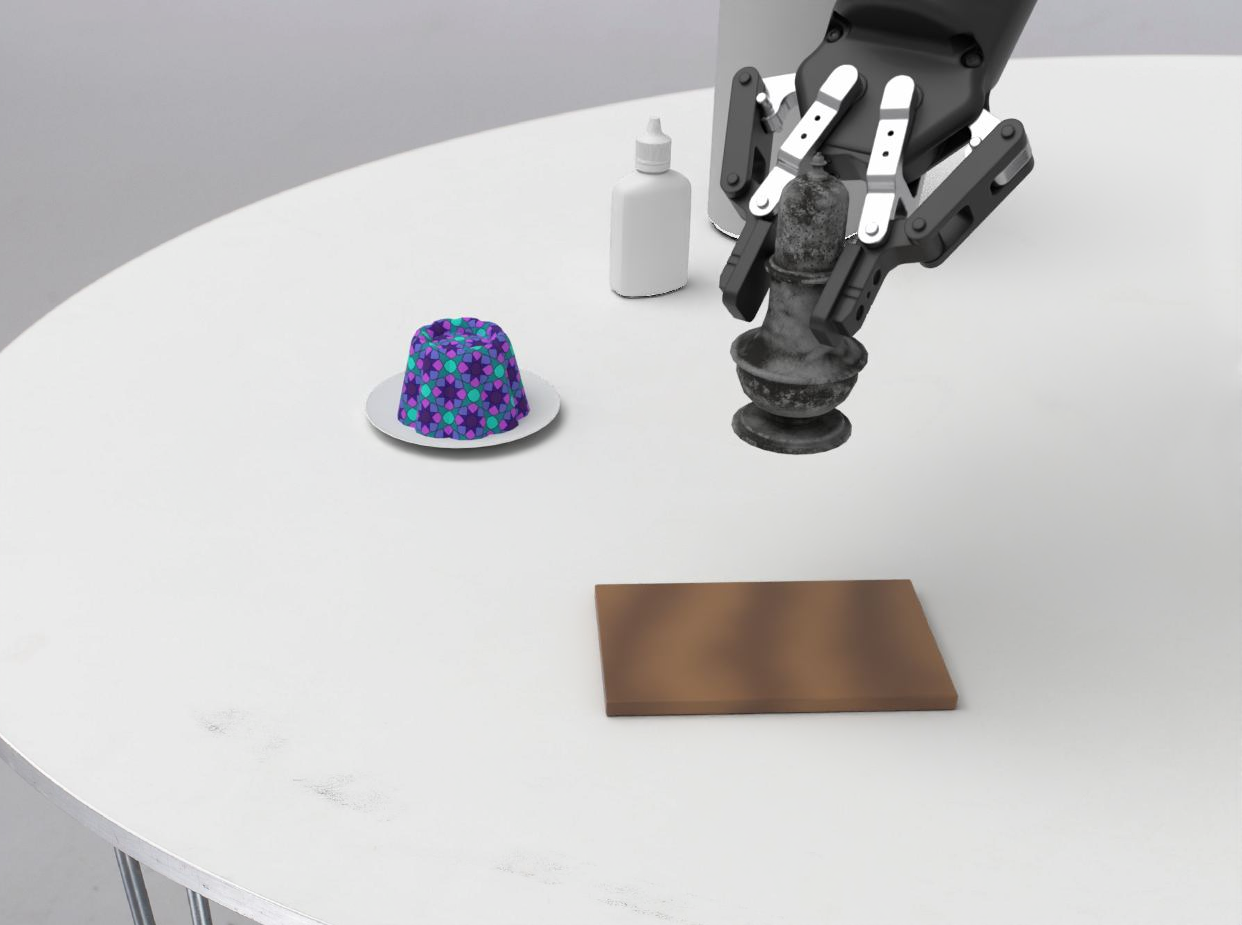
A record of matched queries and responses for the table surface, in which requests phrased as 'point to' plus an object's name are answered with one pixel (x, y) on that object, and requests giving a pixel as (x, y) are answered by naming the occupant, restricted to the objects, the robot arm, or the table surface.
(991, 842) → the table surface
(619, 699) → the wooden board
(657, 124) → the eye dropper bottle
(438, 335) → the pudding
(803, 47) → the cylinder vase
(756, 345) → the salt shaker
